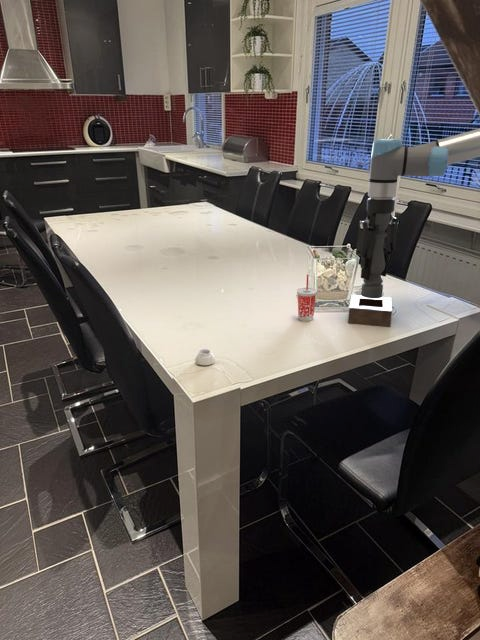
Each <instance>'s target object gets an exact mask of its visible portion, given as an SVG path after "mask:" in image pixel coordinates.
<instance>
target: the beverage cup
mask: <svg viewBox="0 0 480 640" xmlns="http://www.w3.org/2000/svg"><path fill="white" fill-rule="evenodd" d="M296 294H297V319H298V320H299V321H302V320H304V321H303V322H310V320H311V321H313V320H314V315H315V308H316V307H315V306H316V297H317V295H318V290H317V289H316V288H312V287H309V274H306V285H305V287H299V288H297V289H296Z"/></svg>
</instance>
